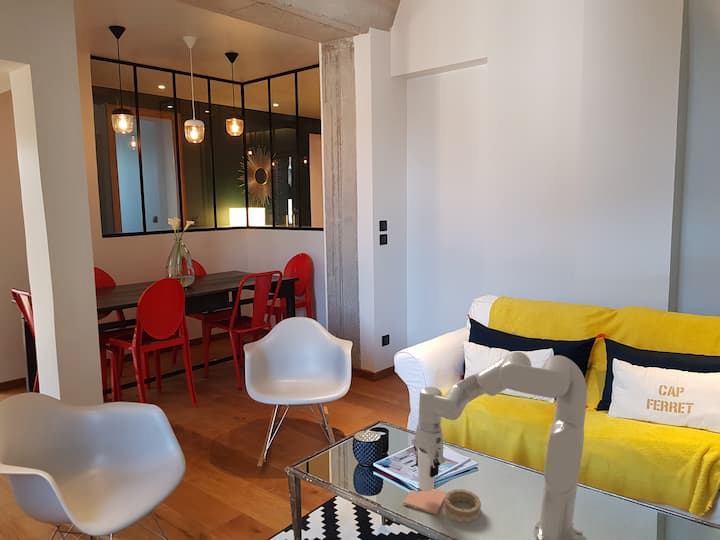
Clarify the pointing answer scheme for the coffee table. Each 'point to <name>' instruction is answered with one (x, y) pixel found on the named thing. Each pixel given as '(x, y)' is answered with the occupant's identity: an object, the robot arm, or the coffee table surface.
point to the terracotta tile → (426, 500)
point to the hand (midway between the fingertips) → (426, 470)
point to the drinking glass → (425, 472)
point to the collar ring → (460, 514)
